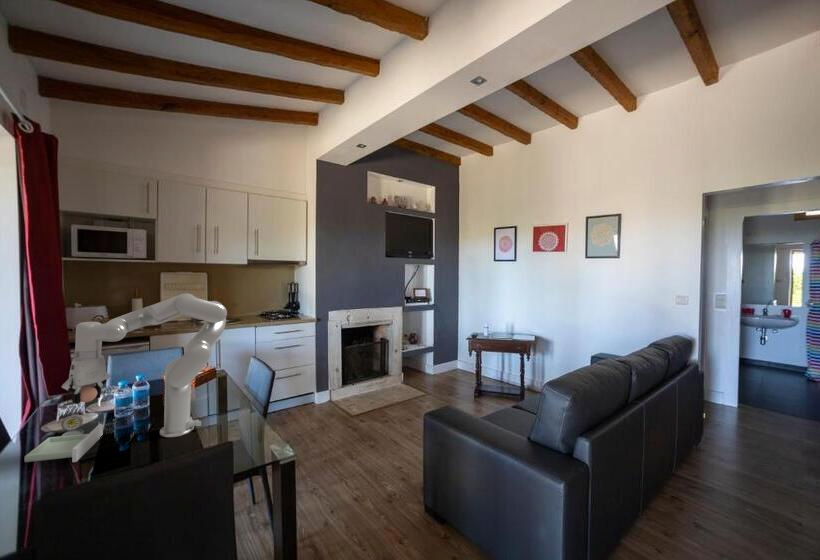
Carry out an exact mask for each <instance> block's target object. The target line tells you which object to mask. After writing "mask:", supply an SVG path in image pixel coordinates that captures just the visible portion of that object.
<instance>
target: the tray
mask: <svg viewBox="0 0 820 560" xmlns="http://www.w3.org/2000/svg"><path fill="white" fill-rule="evenodd" d="M88 434H89V433H83V434H81V435H71V436H62V435H61V436H52V437H51V436H50V437H47V438H46V439H45V440H44V441H42V442H41V443H40V444H39V445H37V446H36V447H35V448H33V449H32V450H30V452H28V453H27V454H25V456H24V463H30V462H40V461H49V460H57V459H66V458H67V459H69V458H72V449H73V448H74V447H75V446H76V445H77V444H78V443H79V442H81V441H82V440H83V439H84V438H85V437H86V436H87V435H88Z"/></svg>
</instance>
